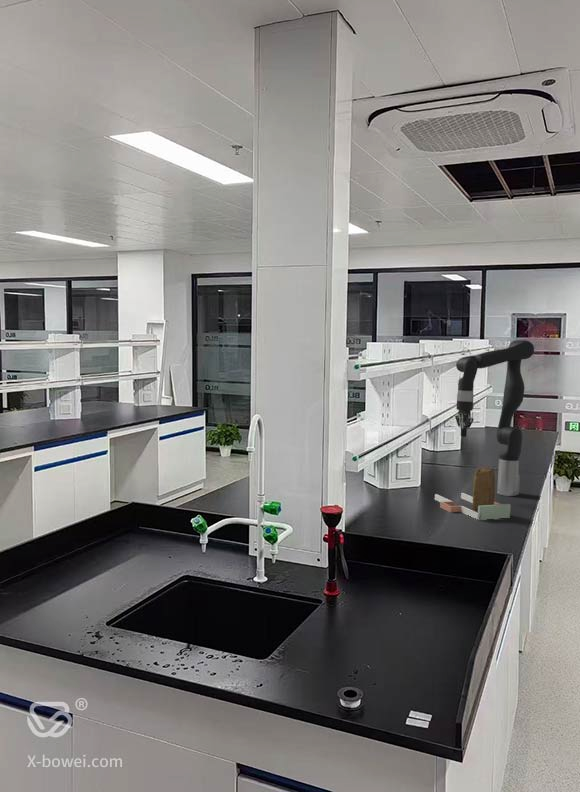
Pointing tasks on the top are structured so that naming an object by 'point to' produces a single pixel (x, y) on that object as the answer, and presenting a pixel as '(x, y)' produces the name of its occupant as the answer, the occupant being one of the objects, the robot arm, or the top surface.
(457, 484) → the top surface
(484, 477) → the block
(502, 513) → the trap channel
